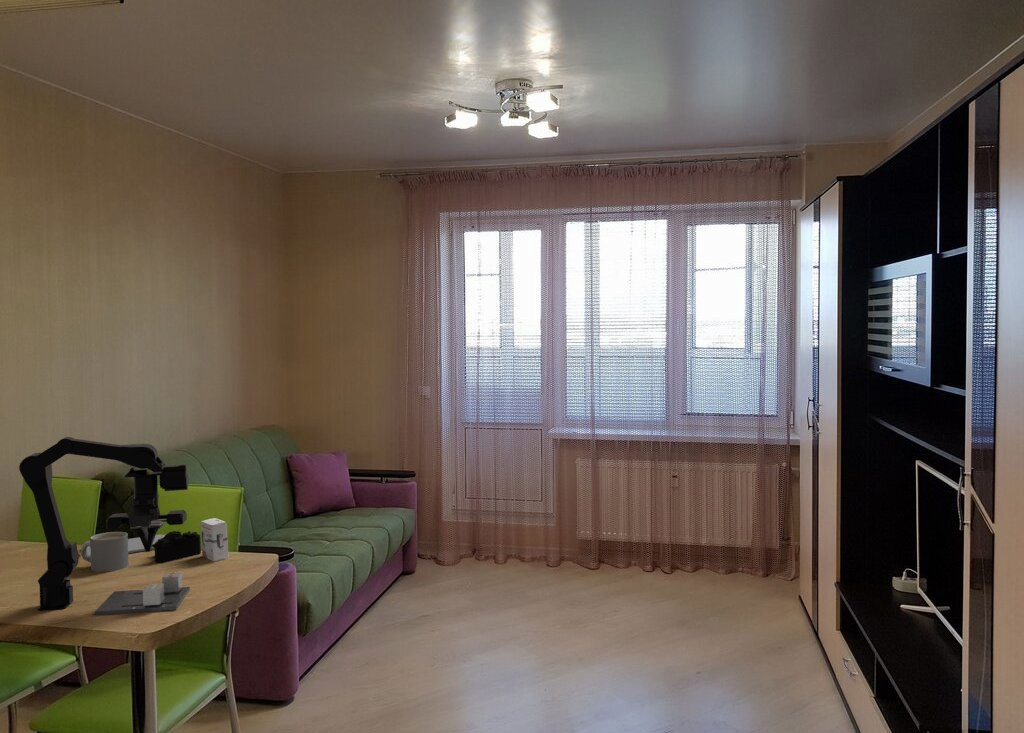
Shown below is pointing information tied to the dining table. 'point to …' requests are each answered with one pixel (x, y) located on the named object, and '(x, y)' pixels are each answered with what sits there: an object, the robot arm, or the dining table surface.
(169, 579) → the fader
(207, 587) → the dining table surface
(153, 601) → the fader
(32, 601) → the dining table surface
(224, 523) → the ink box
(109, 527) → the robot arm
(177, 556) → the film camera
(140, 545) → the tablet
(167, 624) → the dining table surface
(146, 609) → the plate
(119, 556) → the coffee mug
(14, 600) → the dining table surface
